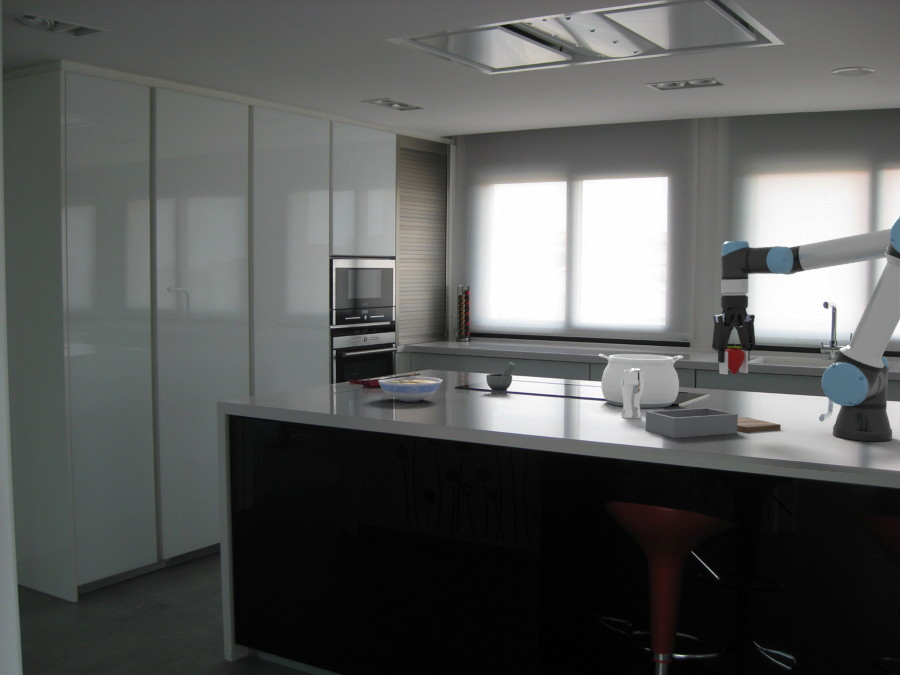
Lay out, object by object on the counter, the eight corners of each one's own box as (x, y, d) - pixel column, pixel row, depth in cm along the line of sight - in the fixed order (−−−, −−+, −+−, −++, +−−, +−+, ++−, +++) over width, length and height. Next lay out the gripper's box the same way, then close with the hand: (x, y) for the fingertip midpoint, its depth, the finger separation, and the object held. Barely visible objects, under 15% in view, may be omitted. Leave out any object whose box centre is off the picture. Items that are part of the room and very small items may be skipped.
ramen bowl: (412, 407, 294) (412, 383, 293) (361, 401, 307) (361, 377, 307) (457, 400, 313) (457, 377, 313) (407, 394, 327) (408, 372, 327)
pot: (675, 399, 321) (677, 352, 319) (688, 410, 294) (689, 359, 293) (594, 397, 324) (596, 350, 322) (599, 408, 297) (601, 357, 296)
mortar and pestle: (481, 393, 331) (482, 361, 330) (492, 391, 339) (492, 359, 338) (509, 396, 326) (510, 363, 325) (519, 393, 334) (520, 361, 333)
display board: (780, 429, 259) (780, 424, 259) (745, 432, 254) (745, 427, 254) (746, 422, 272) (747, 417, 272) (712, 424, 267) (713, 419, 267)
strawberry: (720, 374, 257) (720, 340, 256) (726, 372, 263) (726, 339, 263) (741, 375, 254) (741, 340, 253) (746, 373, 260) (747, 339, 260)
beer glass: (626, 419, 275) (627, 371, 274) (616, 415, 281) (617, 369, 280) (646, 418, 277) (647, 370, 276) (636, 415, 283) (637, 368, 282)
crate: (737, 433, 252) (737, 414, 252) (673, 438, 244) (674, 418, 243) (706, 426, 264) (707, 407, 264) (645, 430, 255) (646, 411, 255)
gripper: (751, 294, 265) (750, 370, 266) (698, 294, 256) (698, 373, 258) (769, 294, 258) (768, 372, 259) (717, 294, 250) (716, 376, 251)
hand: (733, 373), depth 258 cm, fingers closed on strawberry, 7 cm apart
